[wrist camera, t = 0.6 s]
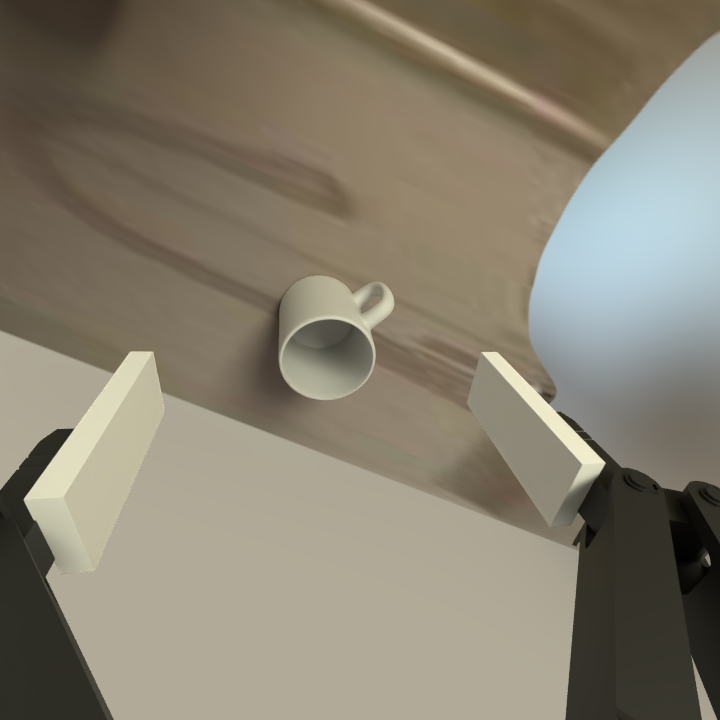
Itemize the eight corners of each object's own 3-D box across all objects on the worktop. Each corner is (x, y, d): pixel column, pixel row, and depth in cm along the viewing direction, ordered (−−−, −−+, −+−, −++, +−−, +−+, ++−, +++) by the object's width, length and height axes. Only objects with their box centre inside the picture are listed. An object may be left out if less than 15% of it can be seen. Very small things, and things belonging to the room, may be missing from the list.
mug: (311, 359, 45) (318, 417, 35) (262, 305, 40) (255, 355, 31) (396, 300, 43) (427, 345, 33) (354, 237, 39) (376, 268, 29)
